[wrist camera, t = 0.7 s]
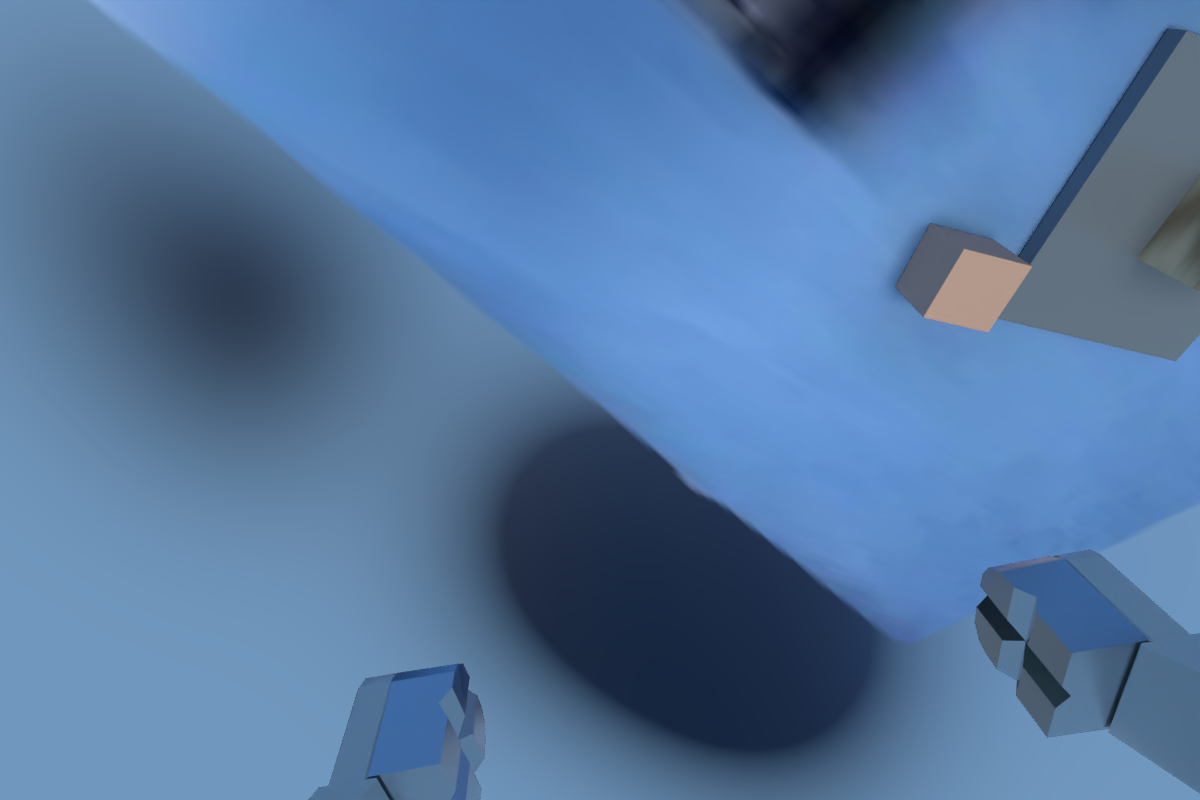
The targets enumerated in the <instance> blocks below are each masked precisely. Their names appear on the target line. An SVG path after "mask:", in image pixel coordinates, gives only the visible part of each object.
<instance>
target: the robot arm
mask: <svg viewBox="0 0 1200 800" xmlns="http://www.w3.org/2000/svg"><path fill="white" fill-rule="evenodd" d="M980 587H981V588H982V589H983V590H984V592H985V593H986V594H987V596H986V597H985V598H984V599H983V600H982V602H981V603H980V604H979V605H978V606H977V607H976V615H975V626H976V629H977V634H978V638H979V641H980V643H981V645H982V647H983V649H984V651H985V653H986V654H987V656H988V658H989V659H990V660H991V662H992V663H993V665H994V666H995V667H996V669H998V670H999V671H1001V672H1003V673H1005V674H1006V675H1008V676H1010V677H1012V678H1013V679H1015V680H1017V687H1016V696H1017V697H1018V699H1019V700H1020V701H1021V703H1022V704H1023V706H1024V707H1025V708H1026V710H1027V711H1028V712H1029V714H1030V715H1031V716H1032V718H1033V719H1034V720H1035V722H1036V723H1037V725H1038V726H1039V727H1040V728H1041V730H1042V731H1043V733H1044V734H1045V735H1046V737H1047V738H1048V737H1055V736H1062V735H1069V734H1075V733H1083V732H1090V731H1096V730H1104V729H1109V731H1108V732H1109V733H1110V734H1112V735H1113V736H1115V737H1116V738H1118V739H1119V740H1121V741H1122V742H1124V743H1125V744H1127V745H1128V746H1130V747H1131V748H1133V749H1134V750H1136V751H1137V752H1139V753H1140V754H1142V755H1143V756H1145V757H1146V758H1148V759H1149V760H1151V761H1152V762H1154V763H1155V764H1157V765H1158V766H1159V767H1161V768H1162V769H1164V770H1165V771H1167V772H1169V773H1170V774H1172V775H1173V776H1174V777H1176V778H1177V779H1179V780H1180V781H1182V782H1184V783H1185V784H1186V785H1188V786H1189V787H1191V788H1192V789H1194V790H1195V791H1197V792H1199V793H1200V633H1198V634H1189V633H1188V632H1187V631H1186V630H1185V629H1184V628H1183V627H1181V626H1180V625H1179V624H1178V623H1177V622H1176V621H1175V620H1174V619H1173V618H1171V617H1170V616H1169V615H1168V614H1167V613H1166V612H1165V611H1164V610H1162V609H1161V608H1160V607H1159V606H1158V605H1157V604H1156V603H1154V601H1152V600H1151V599H1150V598H1149V597H1148V596H1147V595H1146V594H1144V593H1143V592H1142V591H1141V590H1140V589H1139V588H1138V587H1137V586H1136V585H1134V584H1133V583H1132V582H1131V581H1130V580H1129V579H1128V578H1127V577H1125V576H1124V575H1123V574H1122V573H1121V572H1120V571H1119V570H1117V568H1115V567H1114V566H1113V565H1112V564H1111V563H1110V562H1109V561H1108V560H1106V559H1105V558H1104V557H1103V556H1102V555H1100V554H1099V553H1097V552H1094V551H1092V550H1084V551H1078V552H1073V553H1067V554H1062V555H1056V556H1053V557H1052V556H1047V557H1042V558H1037V559H1031V560H1026V561H1021V562H1016V563H1011V564H1006V565H1000V566H995V567H990V568H988V569H987V570H986V571H985V572H984V573H983V574H982V579H981V584H980ZM469 679H470V677H469V674H468V673H467V670H466V668H465V666H464V664H463V663H462V664H453V665H446V666H439V667H434V668H427V669H420V670H413V671H406V672H400V673H394V674H388V675H382V676H377V677H370V678H365V680H364V681H363V683H362V684H361V686H360V687H359V688H358V691H357V694H356V697H355V701H354V704H353V707H352V710H351V714H350V717H349V720H348V723H347V727H346V730H345V733H344V737H343V740H342V743H341V746H340V750H339V753H338V756H337V760H336V763H335V766H334V769H333V772H332V776H331V779H330V782H329V786H325V787H319V788H318V789H317V790H316V791H315V792H314V794H313V795H312V796H311V797H310V798H309V799H308V800H480V799H481V787H480V784H479V782H478V780H477V778H476V775H475V771H476V770H477V769H478V767H479V766H480V764H481V763H482V761H483V760H484V756H485V742H486V738H485V737H486V736H485V719H484V715H483V710H482V706H481V703H480V701H479V698H478V696H477V695H476V694H474V693H472V692H471V691H469V690H468V687H469Z"/></svg>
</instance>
